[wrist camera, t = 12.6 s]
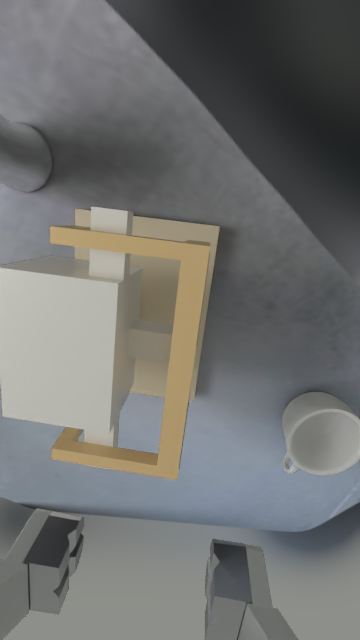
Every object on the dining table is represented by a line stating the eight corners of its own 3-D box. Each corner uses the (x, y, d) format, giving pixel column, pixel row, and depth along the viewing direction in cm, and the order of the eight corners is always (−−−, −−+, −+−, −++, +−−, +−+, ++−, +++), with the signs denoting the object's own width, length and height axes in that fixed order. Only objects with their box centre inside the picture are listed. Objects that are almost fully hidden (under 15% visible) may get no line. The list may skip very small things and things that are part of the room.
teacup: (303, 369, 35) (319, 394, 30) (360, 403, 36) (386, 433, 30) (252, 434, 38) (258, 466, 33) (305, 464, 38) (320, 501, 33)
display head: (77, 379, 38) (5, 464, 25) (81, 206, 32) (-11, 193, 19) (194, 397, 37) (184, 494, 24) (219, 223, 31) (226, 223, 18)
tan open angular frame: (73, 426, 28) (51, 459, 24) (76, 225, 23) (50, 226, 19) (182, 444, 27) (177, 480, 24) (211, 242, 22) (211, 246, 18)
